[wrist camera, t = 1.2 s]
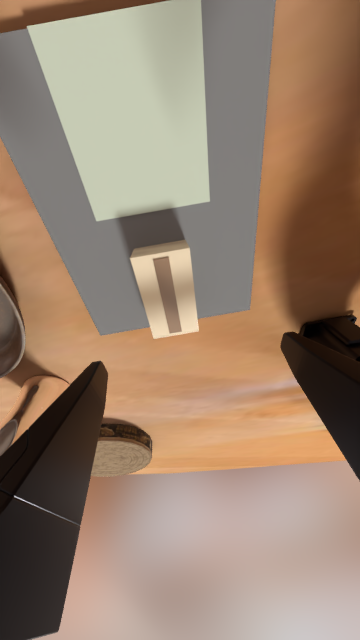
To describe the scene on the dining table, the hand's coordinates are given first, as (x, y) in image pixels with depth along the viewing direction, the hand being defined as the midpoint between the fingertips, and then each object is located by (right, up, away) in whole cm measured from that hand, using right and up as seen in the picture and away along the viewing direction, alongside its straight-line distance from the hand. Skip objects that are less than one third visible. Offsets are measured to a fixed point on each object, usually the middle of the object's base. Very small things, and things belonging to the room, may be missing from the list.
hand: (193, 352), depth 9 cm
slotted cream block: (-2, +5, +9) cm, 11 cm away
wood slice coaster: (-14, -23, +28) cm, 39 cm away
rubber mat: (-3, +10, +7) cm, 12 cm away
